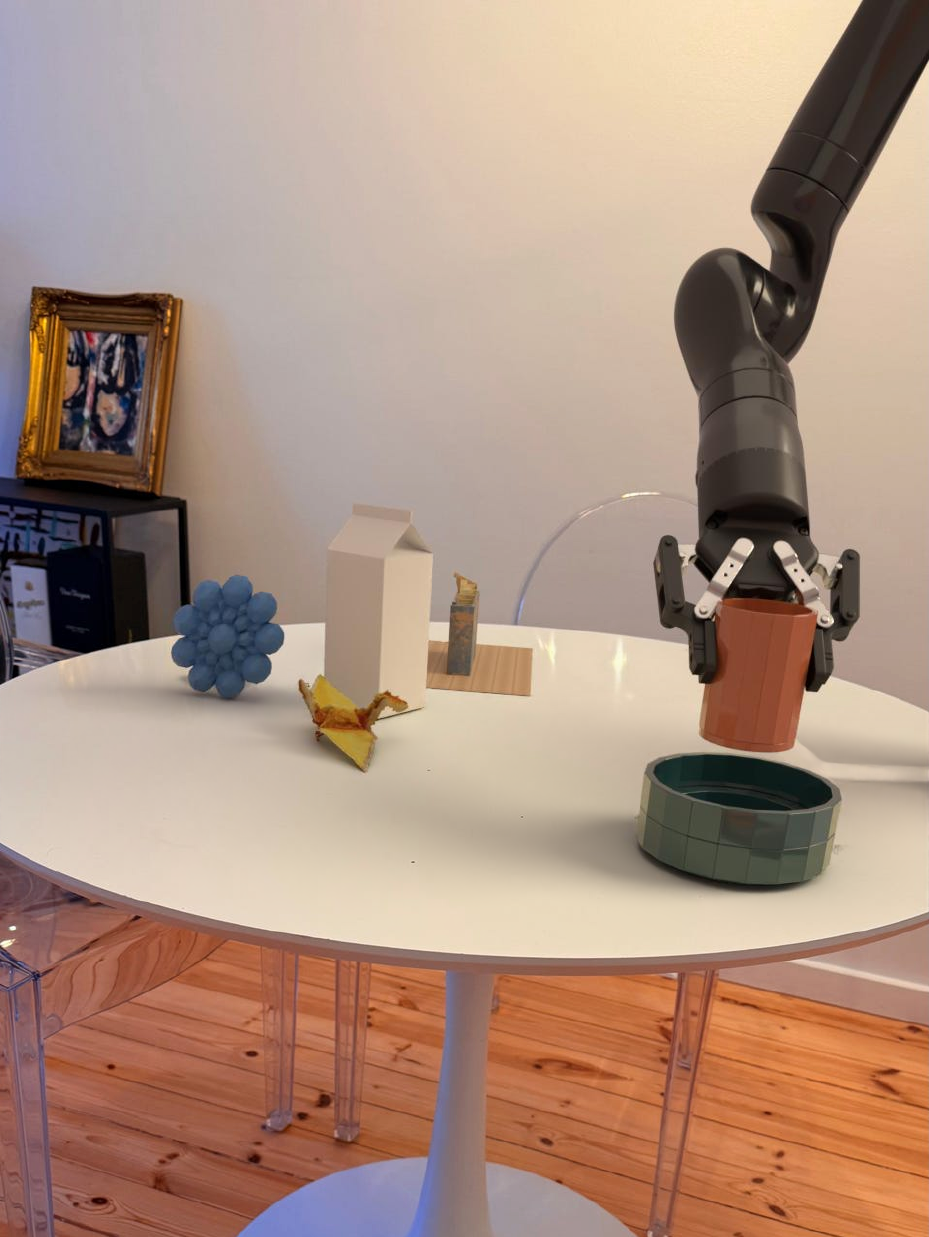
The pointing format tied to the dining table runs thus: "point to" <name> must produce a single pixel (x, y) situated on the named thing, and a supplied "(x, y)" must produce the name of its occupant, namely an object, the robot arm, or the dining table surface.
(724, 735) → the cup
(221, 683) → the blue sphere cluster flower
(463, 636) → the rusty post on board
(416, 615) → the milk carton
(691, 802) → the bowl
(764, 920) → the dining table surface
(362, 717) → the origami crane
